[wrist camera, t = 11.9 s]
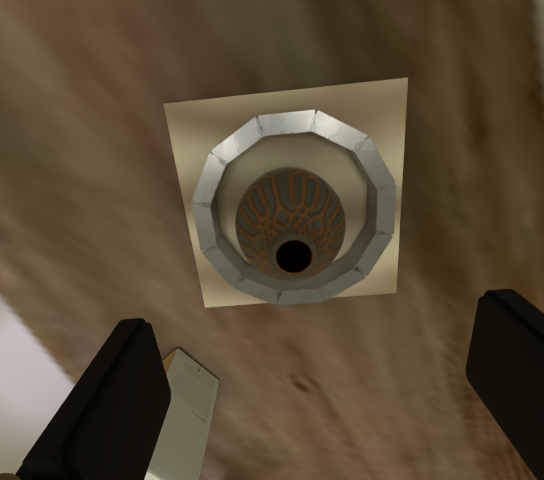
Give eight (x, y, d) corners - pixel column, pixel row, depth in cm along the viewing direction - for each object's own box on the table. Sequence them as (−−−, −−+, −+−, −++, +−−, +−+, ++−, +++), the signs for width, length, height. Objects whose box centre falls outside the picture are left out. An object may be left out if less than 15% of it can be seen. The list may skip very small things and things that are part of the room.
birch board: (167, 104, 22) (163, 103, 21) (403, 78, 21) (407, 77, 21) (207, 302, 28) (205, 307, 27) (392, 287, 27) (396, 292, 27)
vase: (353, 203, 24) (394, 252, 16) (290, 266, 26) (297, 338, 18) (284, 139, 22) (289, 156, 14) (222, 211, 24) (195, 262, 16)
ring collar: (186, 122, 22) (175, 124, 20) (386, 101, 21) (400, 100, 19) (217, 293, 27) (212, 310, 24) (380, 280, 26) (390, 296, 24)
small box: (178, 344, 30) (132, 458, 20) (221, 379, 31) (197, 501, 22) (124, 387, 32) (58, 509, 22) (166, 418, 34) (122, 545, 24)
